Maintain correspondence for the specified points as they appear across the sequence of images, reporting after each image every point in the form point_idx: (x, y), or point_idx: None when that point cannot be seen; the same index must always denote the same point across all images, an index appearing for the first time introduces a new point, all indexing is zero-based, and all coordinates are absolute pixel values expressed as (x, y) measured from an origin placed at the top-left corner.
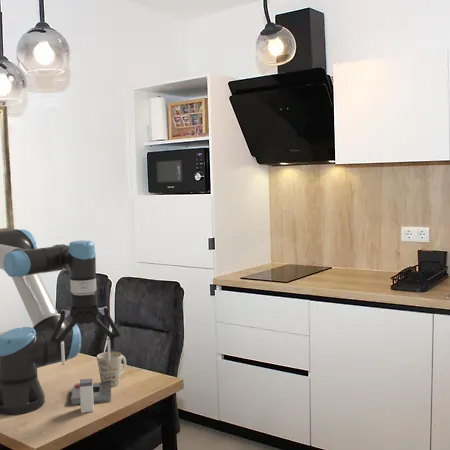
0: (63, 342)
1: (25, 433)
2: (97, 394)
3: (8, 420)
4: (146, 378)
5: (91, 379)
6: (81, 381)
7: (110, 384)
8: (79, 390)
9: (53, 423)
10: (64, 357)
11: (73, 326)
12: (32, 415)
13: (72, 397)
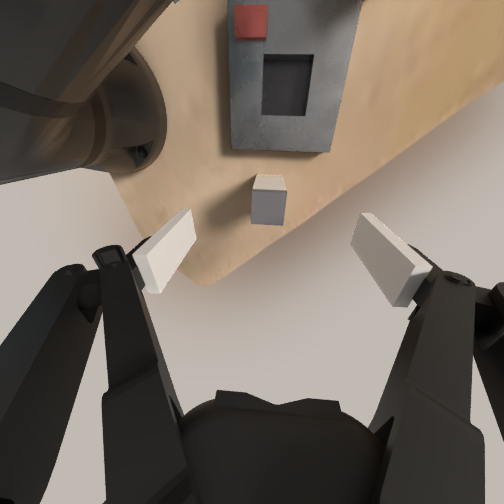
0: (152, 274)
1: None
2: (297, 137)
3: (126, 194)
4: None
5: (283, 201)
6: (255, 209)
7: (353, 41)
8: (249, 80)
9: (211, 230)
10: (184, 226)
11: (176, 397)
12: (163, 183)
13: (233, 140)
